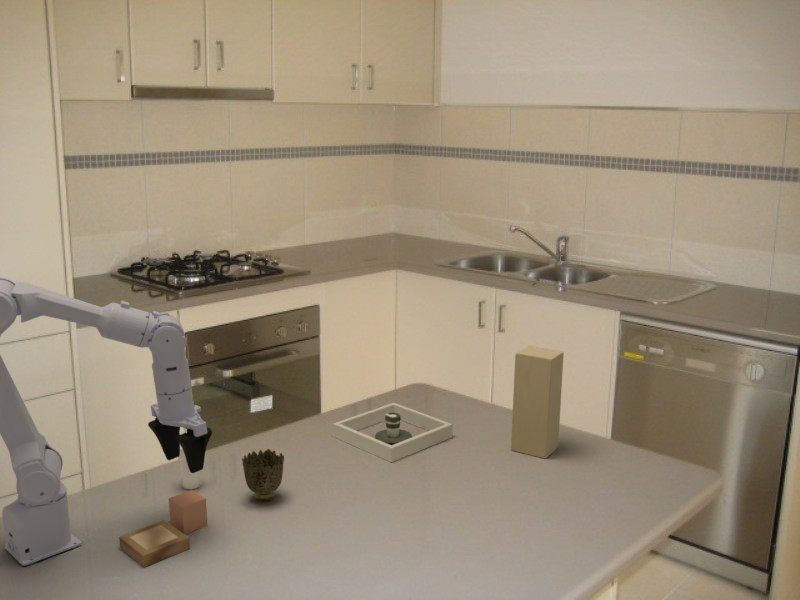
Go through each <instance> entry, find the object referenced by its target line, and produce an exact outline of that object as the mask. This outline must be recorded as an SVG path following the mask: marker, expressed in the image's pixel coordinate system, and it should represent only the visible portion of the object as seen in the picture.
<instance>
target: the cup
mask: <svg viewBox="0 0 800 600" xmlns="http://www.w3.org/2000/svg"><path fill="white" fill-rule="evenodd" d="M284 460H285V455H283V453H282V452H280V454H276V451H275V450H273V451H272V450H271V449H269V448H267V449H266V450H264V452H263V451H262V449H259V451H258V453H256V451H254V450H253V451H252V452H248V453H247V455H246V454H244V456H243V458H241V462H242V467H243V473H244V479H245V483H246V485H247V487H248V488H249V490H250V491H251V492H253V493H254V494H253V495H254V498H255V499H256V500H257V501H259V502H269V501H272V499H274V497H275V495H276V492H275V491H277V489H279V488H280V486H281V483H282V479H283V473H284V462H285V461H284Z"/></svg>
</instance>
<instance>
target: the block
mask: <svg viewBox="0 0 800 600" xmlns="http://www.w3.org/2000/svg"><path fill="white" fill-rule="evenodd" d="M168 510H169V524H170V525H172V526H173V527H175V528H176V529H178V530H179V531H180V532H182V533H183V534H185V535H186V534H188V533H191V532H194V531H196V530H198V529H202V528H203V527H206V526H208V509H207V498H206V497H204V496H202V495H201V494H200V493H198V492H196V491H195V490H194V489H192V490H187V491H185V492H181V493H179V494H177V495H176V494H175V495H173V496H172V497H168Z"/></svg>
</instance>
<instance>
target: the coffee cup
mask: <svg viewBox="0 0 800 600" xmlns="http://www.w3.org/2000/svg"><path fill="white" fill-rule="evenodd" d="M401 421H402V420H401V416H400V414H398V413H386V415H385V427H386V429H383V430H379V431H377V433H376V434H375V435H374V436H375V439H377V440H380V441H382V442H384V443H387V444H397V443H399V442H402V441H404V440H407V439H409V438H412V434H411V432H409V431H408V430H404V429H401V428H400V425H401Z"/></svg>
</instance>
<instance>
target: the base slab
mask: <svg viewBox="0 0 800 600" xmlns="http://www.w3.org/2000/svg"><path fill="white" fill-rule="evenodd" d="M118 539H119V540H118V542H119V548H120V550H121V551H123V552H124V553H125V554H127V556H130V558H132V559H133V560H135V562H137V563H138V564H139V565H141V567H143V568H146V567H149V566H150V565H154V564H155V563H158V562H161V561H162V560H166V559H167V558H170V557H173V556H175V555H178V554H180V553H183V552H185V551H187V550H190V548H191V547H190V546H191V545H190V537H189V536H187V535H186V534H183V533H182V532H180V531H179V530H178V529H176V528H175V527H173V526H172V525H170V522H168V521H167V520H160V521H157V522H155V523H152V524H149V525H147V526H145V527H142V528H140V529H139V528H138V529H136V530H134V531H131V532H128V533H126V534H123V535H121V536H119V537H118Z"/></svg>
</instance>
